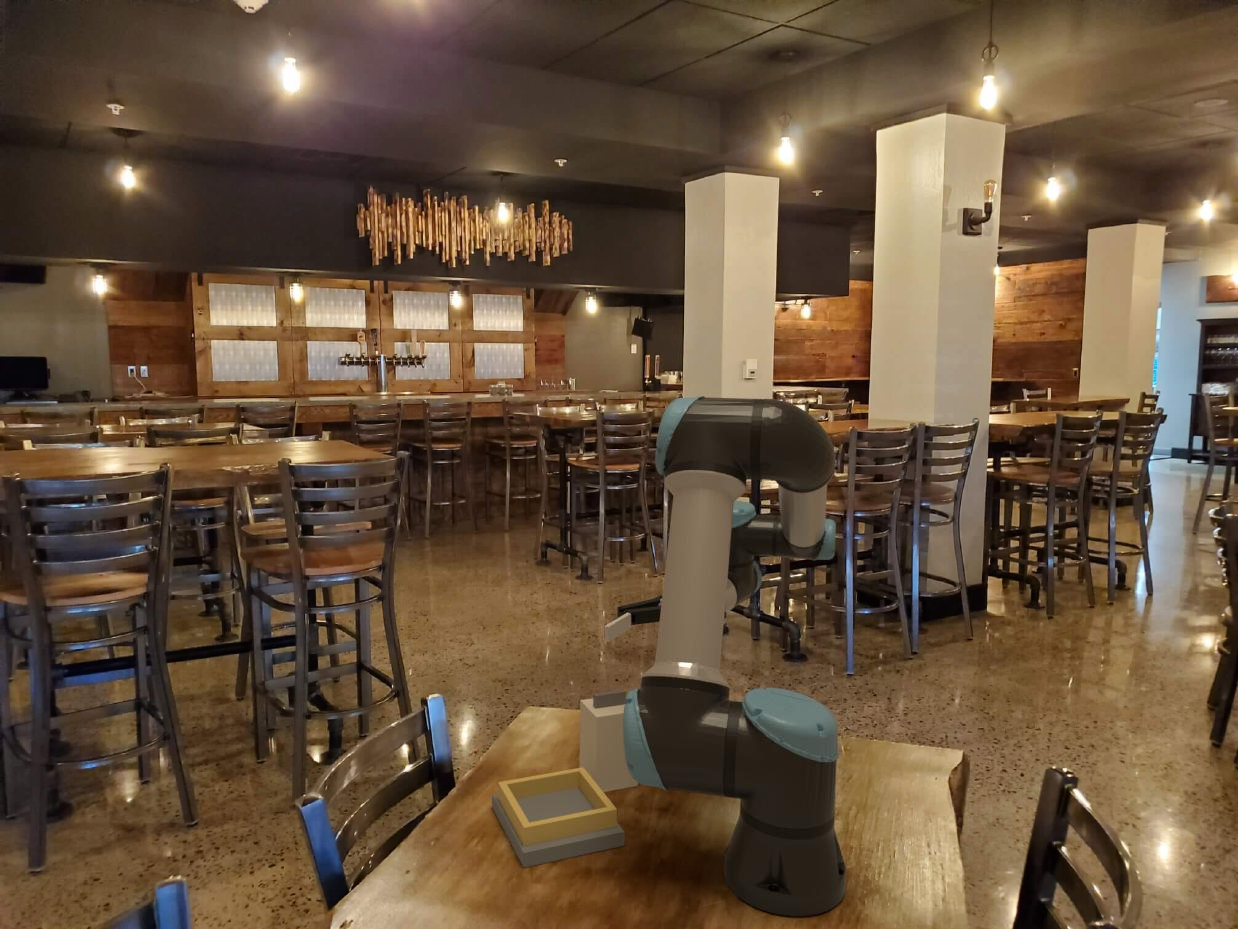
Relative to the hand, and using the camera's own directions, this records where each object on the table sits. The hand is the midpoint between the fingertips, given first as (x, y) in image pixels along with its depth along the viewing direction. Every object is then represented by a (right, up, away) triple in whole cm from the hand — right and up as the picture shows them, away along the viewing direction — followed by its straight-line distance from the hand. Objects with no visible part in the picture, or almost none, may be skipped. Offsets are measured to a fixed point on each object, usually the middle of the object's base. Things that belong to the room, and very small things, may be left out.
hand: (640, 644), depth 136 cm
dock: (-12, -22, -18) cm, 30 cm away
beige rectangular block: (-5, -20, -4) cm, 21 cm away
